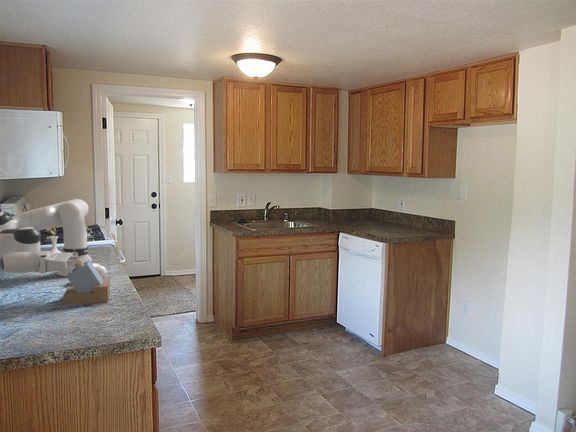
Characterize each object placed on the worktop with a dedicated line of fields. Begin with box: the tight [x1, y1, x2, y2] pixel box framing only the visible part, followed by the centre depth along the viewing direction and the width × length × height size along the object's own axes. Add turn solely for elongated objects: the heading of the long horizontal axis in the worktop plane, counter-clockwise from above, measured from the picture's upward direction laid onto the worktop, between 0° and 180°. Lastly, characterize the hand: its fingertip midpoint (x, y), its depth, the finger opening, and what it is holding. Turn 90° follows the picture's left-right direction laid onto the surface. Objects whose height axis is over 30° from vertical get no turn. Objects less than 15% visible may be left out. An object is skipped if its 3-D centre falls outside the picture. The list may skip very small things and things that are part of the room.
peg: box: [75, 258, 84, 269], centre depth 200 cm, size 3×3×12 cm
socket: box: [62, 260, 111, 306], centre depth 201 cm, size 14×17×16 cm
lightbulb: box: [95, 264, 108, 279], centre depth 218 cm, size 6×6×11 cm
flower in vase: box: [45, 227, 63, 254], centre depth 278 cm, size 13×11×25 cm
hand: (81, 260), depth 200 cm, fingers open, 5 cm apart
